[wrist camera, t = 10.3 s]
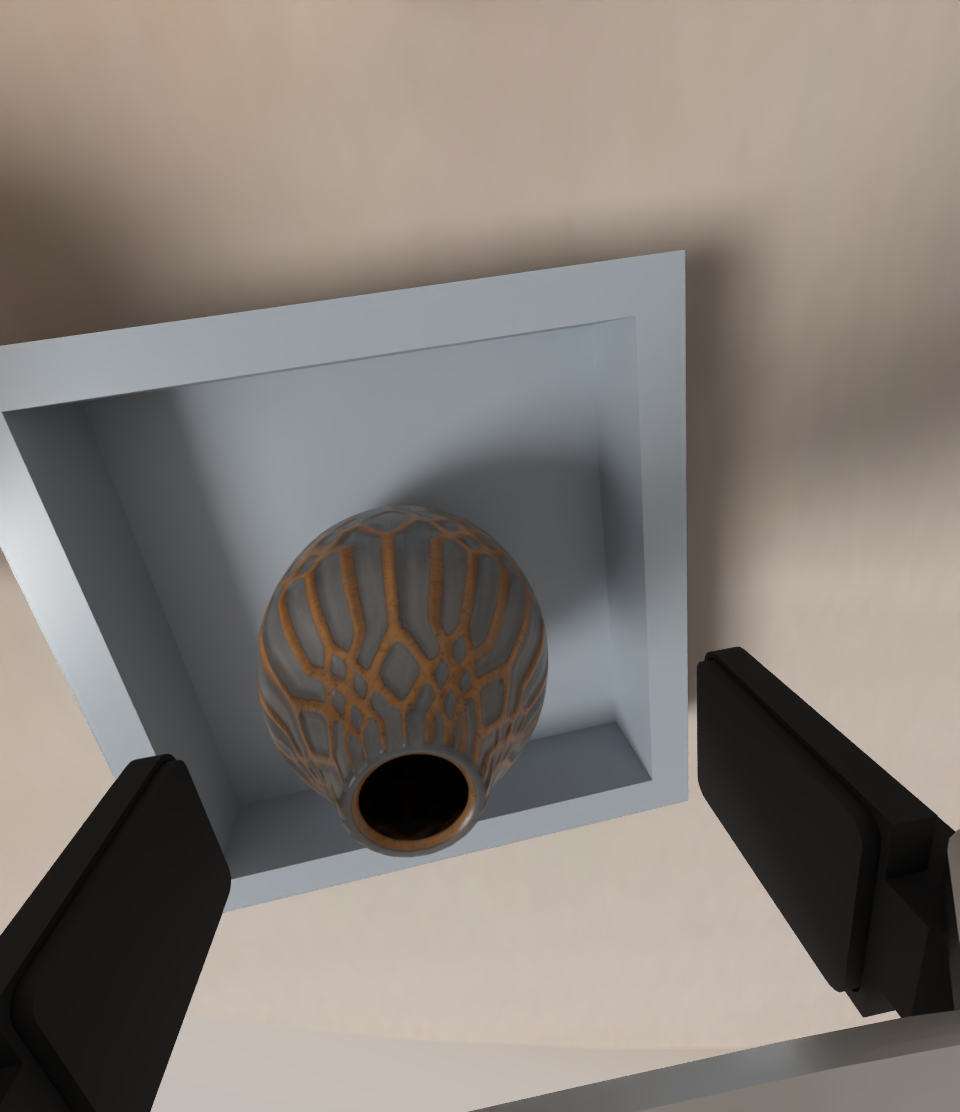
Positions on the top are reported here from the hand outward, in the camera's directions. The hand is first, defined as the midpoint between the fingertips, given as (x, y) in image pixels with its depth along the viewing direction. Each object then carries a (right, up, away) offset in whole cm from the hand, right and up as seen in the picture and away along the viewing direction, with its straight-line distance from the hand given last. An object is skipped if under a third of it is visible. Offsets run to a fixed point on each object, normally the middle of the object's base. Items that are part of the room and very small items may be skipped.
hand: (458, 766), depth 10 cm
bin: (-2, +3, +8) cm, 9 cm away
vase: (-2, +3, +7) cm, 8 cm away
